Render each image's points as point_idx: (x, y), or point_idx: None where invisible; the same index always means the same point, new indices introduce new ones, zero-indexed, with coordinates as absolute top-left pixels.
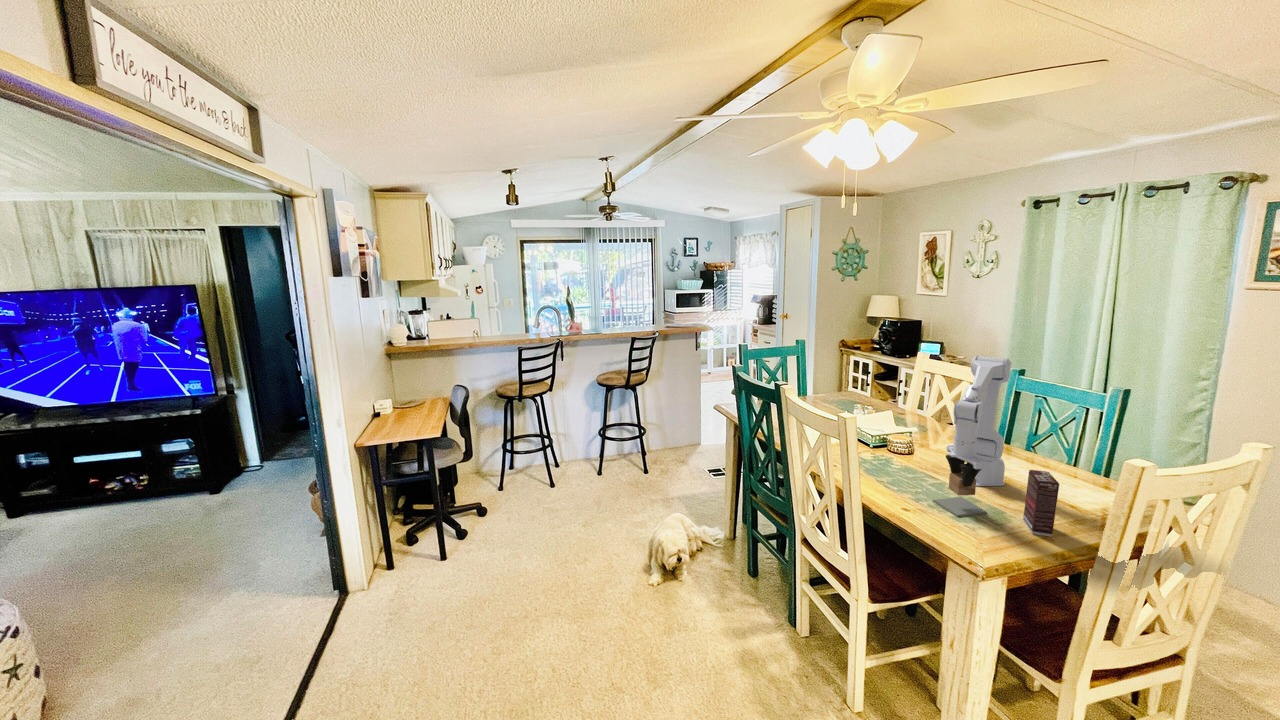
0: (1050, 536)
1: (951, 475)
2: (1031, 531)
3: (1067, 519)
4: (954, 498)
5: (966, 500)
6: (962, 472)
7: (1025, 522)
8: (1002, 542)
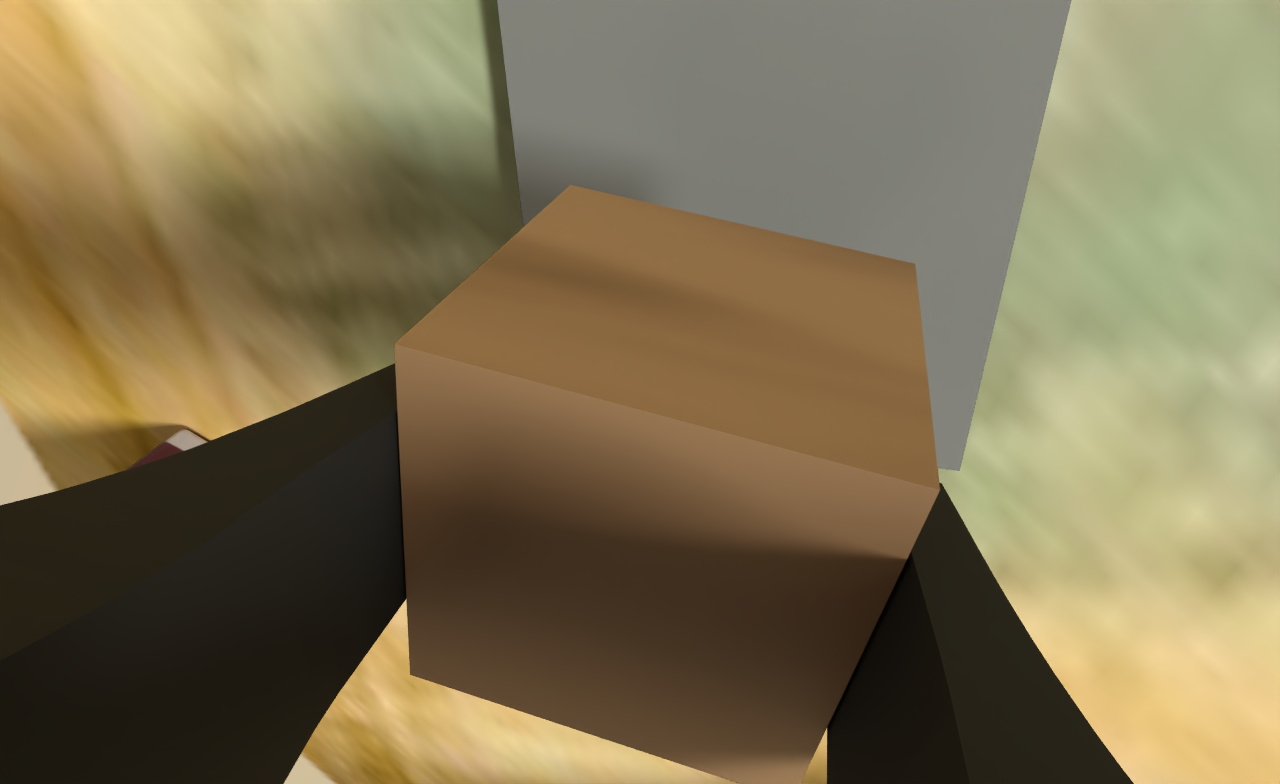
0: None
1: (832, 436)
2: (188, 442)
3: (422, 769)
4: (954, 353)
5: None
6: (124, 545)
7: None
8: None
